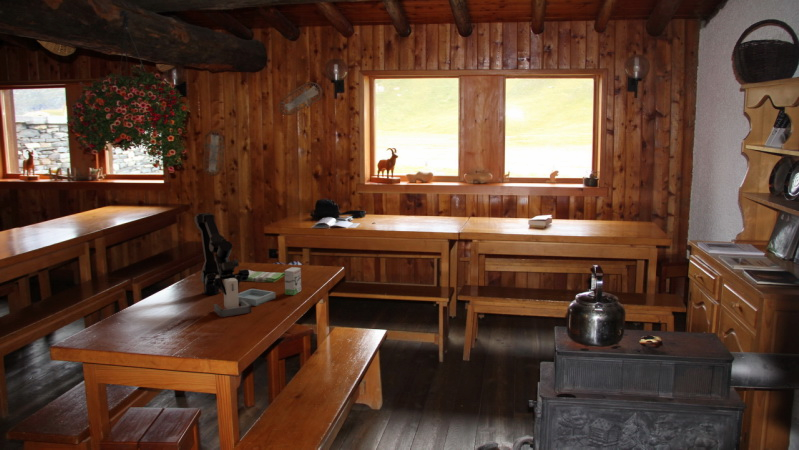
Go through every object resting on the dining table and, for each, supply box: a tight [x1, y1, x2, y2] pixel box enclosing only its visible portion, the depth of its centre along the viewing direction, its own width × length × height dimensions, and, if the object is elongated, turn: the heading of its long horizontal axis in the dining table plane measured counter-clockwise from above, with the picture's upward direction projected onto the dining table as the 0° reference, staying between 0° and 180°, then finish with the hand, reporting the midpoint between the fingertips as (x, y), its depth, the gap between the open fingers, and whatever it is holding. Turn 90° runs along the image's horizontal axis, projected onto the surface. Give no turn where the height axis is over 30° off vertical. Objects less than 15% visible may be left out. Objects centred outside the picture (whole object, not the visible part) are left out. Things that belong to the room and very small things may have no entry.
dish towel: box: [244, 269, 285, 283], centre depth 351 cm, size 17×23×4 cm
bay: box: [213, 300, 252, 318], centre depth 291 cm, size 11×13×3 cm
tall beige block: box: [222, 278, 240, 309], centre depth 291 cm, size 6×5×12 cm
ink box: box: [284, 266, 302, 296], centre depth 320 cm, size 9×5×12 cm, turn 163°
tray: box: [238, 288, 276, 307], centre depth 309 cm, size 14×14×3 cm
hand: (231, 293), depth 290 cm, fingers closed on tall beige block, 5 cm apart
